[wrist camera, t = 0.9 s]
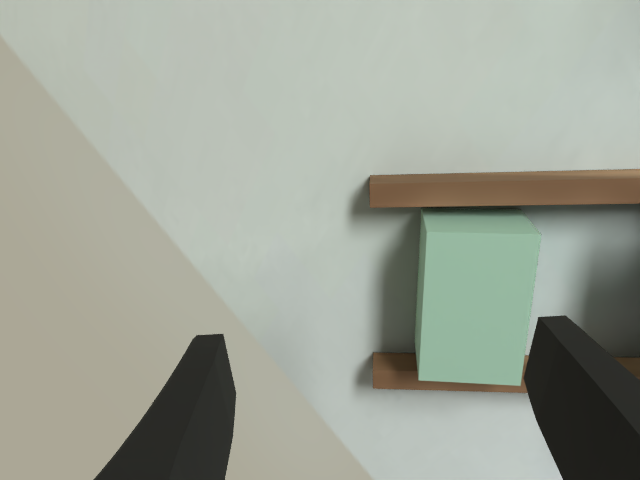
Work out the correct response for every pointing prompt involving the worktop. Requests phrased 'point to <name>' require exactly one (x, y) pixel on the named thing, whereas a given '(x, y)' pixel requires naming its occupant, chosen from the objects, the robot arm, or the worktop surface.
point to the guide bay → (492, 192)
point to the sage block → (474, 294)
